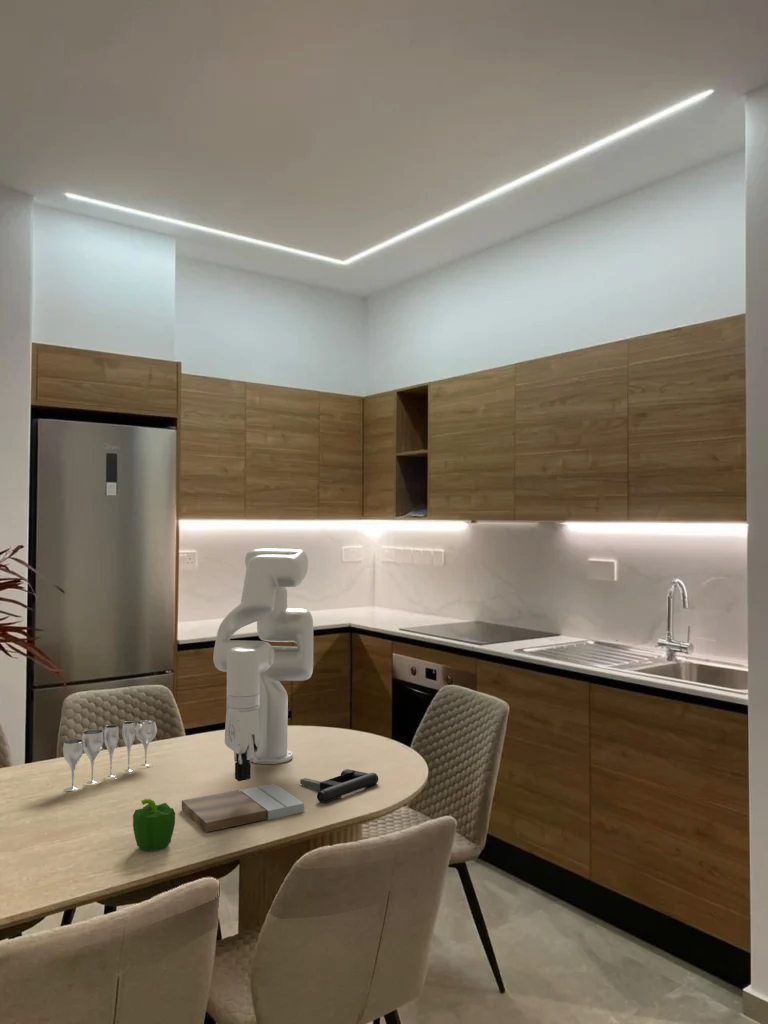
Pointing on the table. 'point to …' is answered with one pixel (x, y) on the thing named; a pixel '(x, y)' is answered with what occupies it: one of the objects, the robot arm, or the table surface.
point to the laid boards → (274, 801)
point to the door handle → (341, 784)
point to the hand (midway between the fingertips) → (242, 779)
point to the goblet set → (107, 744)
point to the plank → (223, 810)
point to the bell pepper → (153, 825)
